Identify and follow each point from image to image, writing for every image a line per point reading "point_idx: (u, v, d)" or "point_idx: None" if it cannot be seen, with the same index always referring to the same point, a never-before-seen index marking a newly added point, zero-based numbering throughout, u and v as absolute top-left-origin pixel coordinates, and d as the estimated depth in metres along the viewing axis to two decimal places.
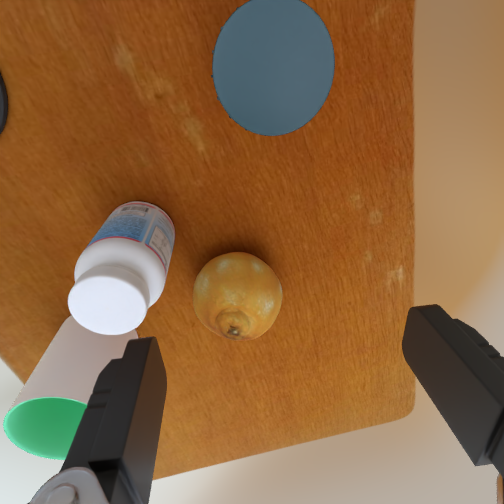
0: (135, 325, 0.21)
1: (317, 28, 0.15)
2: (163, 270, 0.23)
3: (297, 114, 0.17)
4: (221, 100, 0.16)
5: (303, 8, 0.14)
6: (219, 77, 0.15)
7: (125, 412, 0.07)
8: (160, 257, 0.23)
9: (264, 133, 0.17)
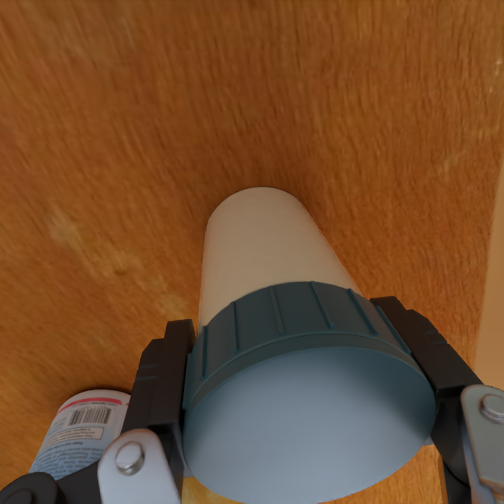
0: None
1: (408, 384, 0.07)
2: None
3: (350, 481, 0.09)
4: (202, 482, 0.08)
5: (382, 362, 0.06)
6: (197, 459, 0.07)
7: (175, 383, 0.08)
8: None
9: None
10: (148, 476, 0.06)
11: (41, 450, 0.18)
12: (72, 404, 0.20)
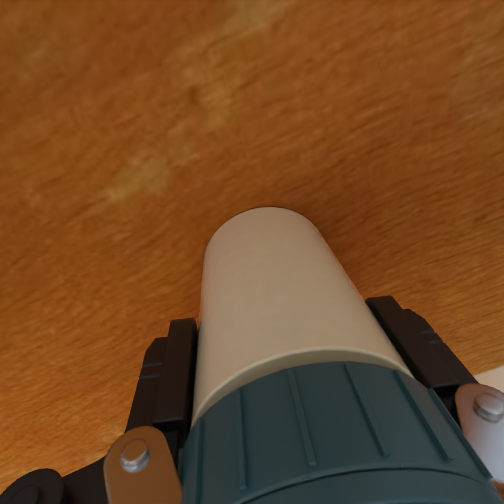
0: None
1: None
2: None
3: None
4: None
5: None
6: None
7: (179, 381, 0.08)
8: None
9: None
10: (154, 473, 0.06)
11: None
12: None
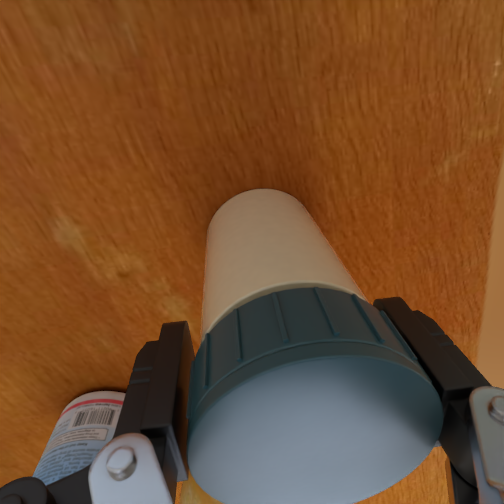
0: None
1: (257, 389, 0.06)
2: None
3: (412, 417, 0.07)
4: None
5: (215, 413, 0.06)
6: None
7: (169, 387, 0.08)
8: None
9: (421, 461, 0.08)
10: (139, 481, 0.06)
11: (46, 451, 0.18)
12: (76, 405, 0.20)
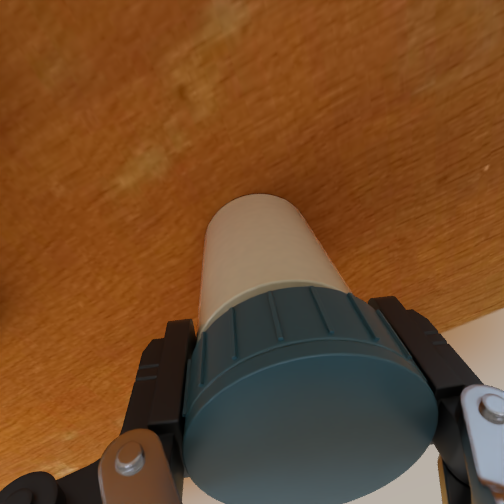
0: None
1: (252, 387, 0.06)
2: None
3: (407, 415, 0.07)
4: None
5: (210, 411, 0.07)
6: None
7: (175, 383, 0.08)
8: None
9: (416, 459, 0.08)
10: (148, 476, 0.06)
11: None
12: None
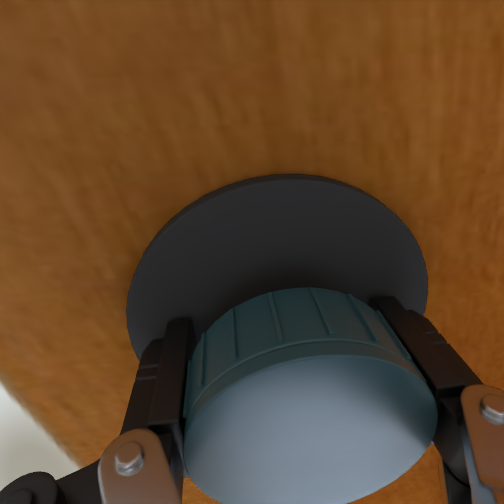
0: None
1: (252, 388, 0.06)
2: None
3: (407, 416, 0.07)
4: None
5: (211, 411, 0.07)
6: None
7: (175, 383, 0.08)
8: None
9: (416, 460, 0.08)
10: (148, 476, 0.06)
11: None
12: None
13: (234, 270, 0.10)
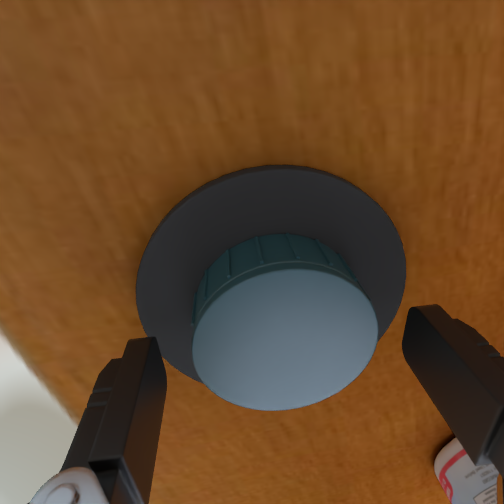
0: None
1: (241, 294, 0.09)
2: None
3: (355, 323, 0.10)
4: (305, 405, 0.12)
5: (212, 313, 0.09)
6: (278, 405, 0.11)
7: (125, 412, 0.07)
8: None
9: (366, 363, 0.11)
10: None
11: None
12: None
13: None
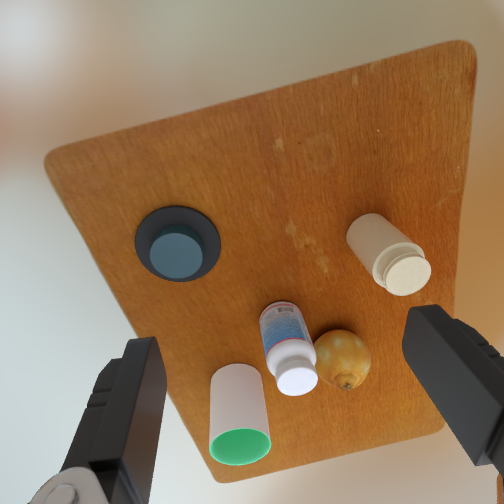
0: (308, 390, 0.37)
1: (161, 239, 0.36)
2: None
3: (194, 248, 0.37)
4: (186, 276, 0.38)
5: (154, 244, 0.36)
6: (177, 276, 0.38)
7: (125, 412, 0.07)
8: (313, 346, 0.40)
9: (201, 262, 0.38)
10: None
11: (269, 321, 0.42)
12: (274, 306, 0.44)
13: None
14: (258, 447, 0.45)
